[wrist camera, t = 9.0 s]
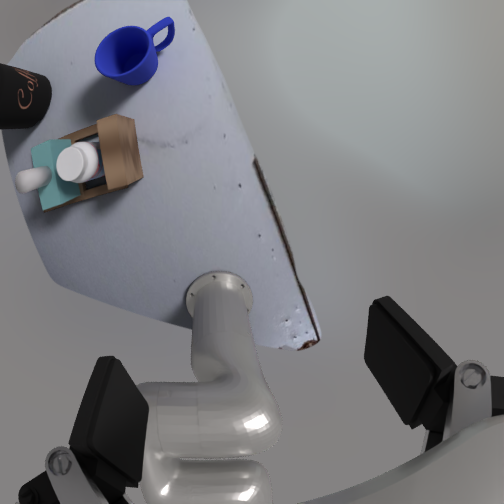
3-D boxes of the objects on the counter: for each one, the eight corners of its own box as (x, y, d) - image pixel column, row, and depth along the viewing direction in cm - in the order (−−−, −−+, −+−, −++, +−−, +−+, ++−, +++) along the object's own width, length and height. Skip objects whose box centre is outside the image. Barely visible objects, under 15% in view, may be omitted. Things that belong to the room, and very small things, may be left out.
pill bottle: (106, 182, 40) (77, 194, 30) (79, 168, 38) (46, 176, 28) (121, 150, 39) (95, 152, 28) (94, 136, 37) (62, 135, 26)
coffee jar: (58, 112, 33) (-5, 106, 17) (19, 138, 33) (-44, 146, 16) (51, 65, 29) (-5, 45, 13) (13, 93, 29) (-46, 87, 12)
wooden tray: (144, 182, 41) (129, 192, 33) (47, 210, 39) (22, 224, 31) (133, 113, 37) (115, 107, 28) (36, 150, 35) (7, 154, 27)
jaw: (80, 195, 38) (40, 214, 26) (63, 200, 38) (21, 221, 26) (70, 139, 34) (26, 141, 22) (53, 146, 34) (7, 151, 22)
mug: (192, 54, 34) (187, 32, 25) (133, 100, 36) (112, 88, 26) (165, 26, 31) (155, 0, 22) (108, 70, 32) (84, 54, 23)
